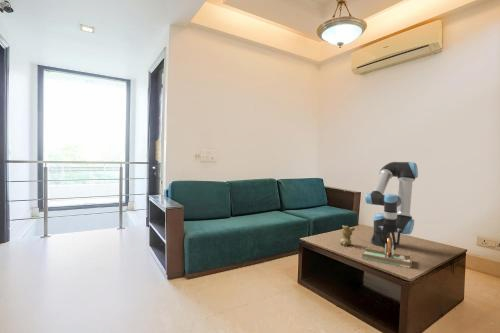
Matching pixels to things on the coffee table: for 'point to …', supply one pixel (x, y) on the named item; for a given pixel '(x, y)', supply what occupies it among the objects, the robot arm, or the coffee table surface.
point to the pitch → (380, 257)
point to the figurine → (346, 236)
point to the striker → (389, 248)
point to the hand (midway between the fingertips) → (389, 253)
